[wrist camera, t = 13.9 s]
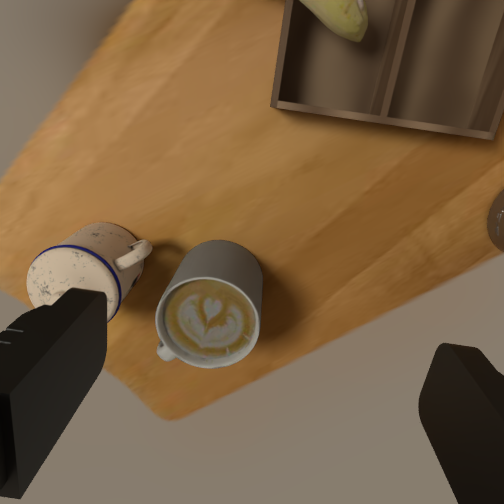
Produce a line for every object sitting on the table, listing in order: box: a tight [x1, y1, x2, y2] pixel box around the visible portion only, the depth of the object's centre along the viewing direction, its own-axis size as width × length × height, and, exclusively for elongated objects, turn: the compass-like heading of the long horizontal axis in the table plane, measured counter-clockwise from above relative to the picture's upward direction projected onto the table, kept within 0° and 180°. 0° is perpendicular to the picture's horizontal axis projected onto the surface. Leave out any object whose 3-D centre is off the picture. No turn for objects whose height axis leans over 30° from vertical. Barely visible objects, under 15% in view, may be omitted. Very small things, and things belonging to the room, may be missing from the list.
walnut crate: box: [270, 0, 504, 140], centre depth 35 cm, size 20×14×5 cm
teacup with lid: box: [27, 222, 152, 323], centre depth 41 cm, size 12×9×12 cm
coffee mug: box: [155, 240, 263, 369], centre depth 43 cm, size 13×10×10 cm
